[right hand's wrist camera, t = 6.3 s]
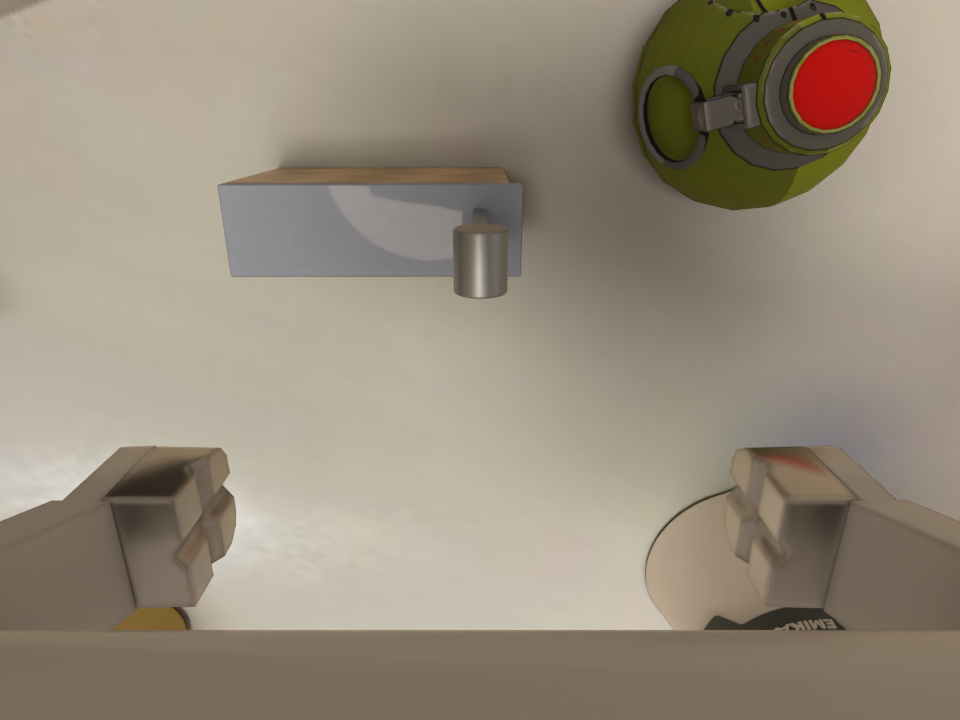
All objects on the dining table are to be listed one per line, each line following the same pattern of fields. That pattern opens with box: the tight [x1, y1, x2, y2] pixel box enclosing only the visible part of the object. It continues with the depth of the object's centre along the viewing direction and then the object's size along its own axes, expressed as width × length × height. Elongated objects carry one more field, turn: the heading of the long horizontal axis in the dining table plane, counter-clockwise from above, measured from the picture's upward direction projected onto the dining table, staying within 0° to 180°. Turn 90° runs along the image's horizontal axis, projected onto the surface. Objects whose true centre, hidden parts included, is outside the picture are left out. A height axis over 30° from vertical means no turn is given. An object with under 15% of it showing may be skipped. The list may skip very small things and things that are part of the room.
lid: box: [218, 183, 523, 299], centre depth 29 cm, size 15×5×9 cm, turn 90°
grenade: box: [632, 0, 891, 210], centre depth 32 cm, size 12×12×15 cm
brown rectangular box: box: [227, 168, 509, 183], centre depth 37 cm, size 14×5×9 cm, turn 90°
